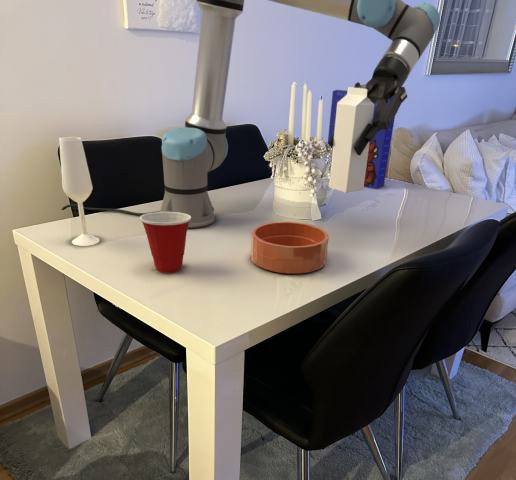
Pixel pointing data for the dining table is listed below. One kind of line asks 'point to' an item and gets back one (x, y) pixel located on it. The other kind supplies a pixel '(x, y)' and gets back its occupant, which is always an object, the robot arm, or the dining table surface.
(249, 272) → the dining table surface
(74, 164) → the champagne flute
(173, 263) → the plastic cup
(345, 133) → the milk
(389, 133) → the cereal box
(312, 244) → the bowl
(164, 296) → the dining table surface
